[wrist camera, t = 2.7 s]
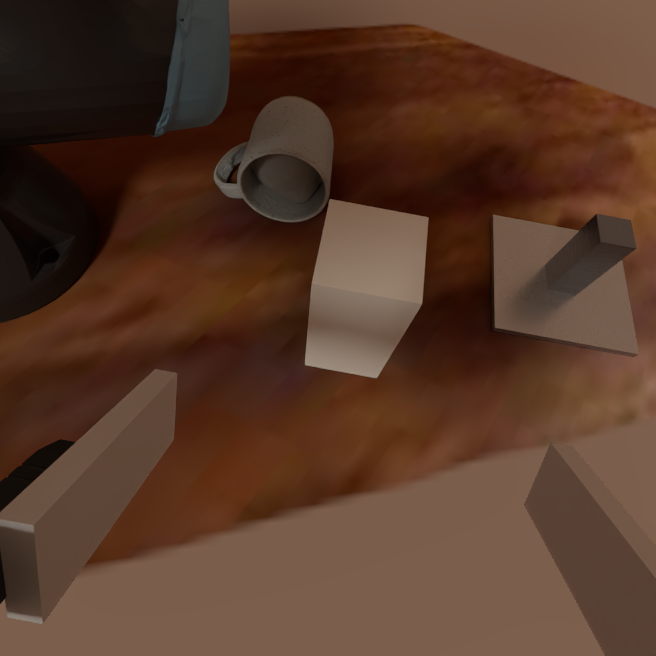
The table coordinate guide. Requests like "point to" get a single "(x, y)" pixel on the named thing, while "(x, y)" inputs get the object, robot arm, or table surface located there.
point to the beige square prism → (364, 286)
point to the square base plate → (563, 282)
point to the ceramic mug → (283, 162)
